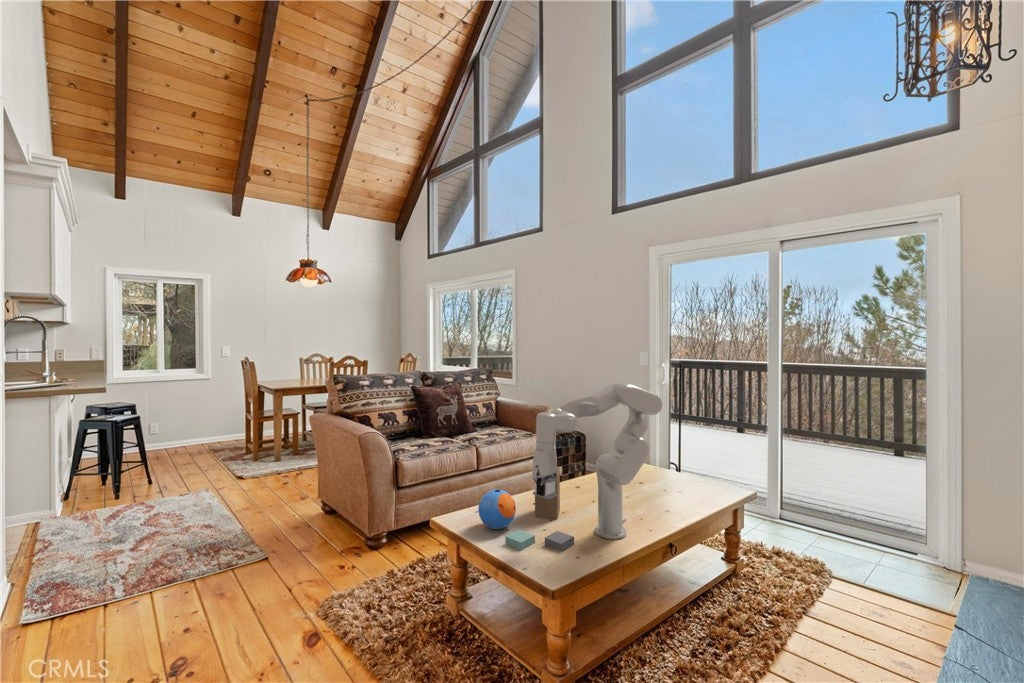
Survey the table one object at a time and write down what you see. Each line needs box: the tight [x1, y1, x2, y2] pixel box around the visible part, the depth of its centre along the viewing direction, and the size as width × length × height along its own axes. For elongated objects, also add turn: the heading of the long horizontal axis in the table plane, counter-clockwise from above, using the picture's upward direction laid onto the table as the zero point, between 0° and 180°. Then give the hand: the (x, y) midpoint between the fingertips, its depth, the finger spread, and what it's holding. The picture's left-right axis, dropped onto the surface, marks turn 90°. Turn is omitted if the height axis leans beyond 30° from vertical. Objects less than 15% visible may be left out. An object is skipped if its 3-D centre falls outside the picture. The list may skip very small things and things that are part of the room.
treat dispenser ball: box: [478, 489, 517, 530], centre depth 195 cm, size 16×15×15 cm
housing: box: [532, 476, 557, 499], centre depth 178 cm, size 5×8×7 cm, turn 49°
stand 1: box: [504, 529, 536, 551], centre depth 180 cm, size 8×8×3 cm
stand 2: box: [544, 530, 575, 553], centre depth 178 cm, size 8×8×3 cm
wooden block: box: [534, 466, 561, 520], centre depth 208 cm, size 10×10×20 cm
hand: (544, 492), depth 178 cm, fingers closed on housing, 5 cm apart
